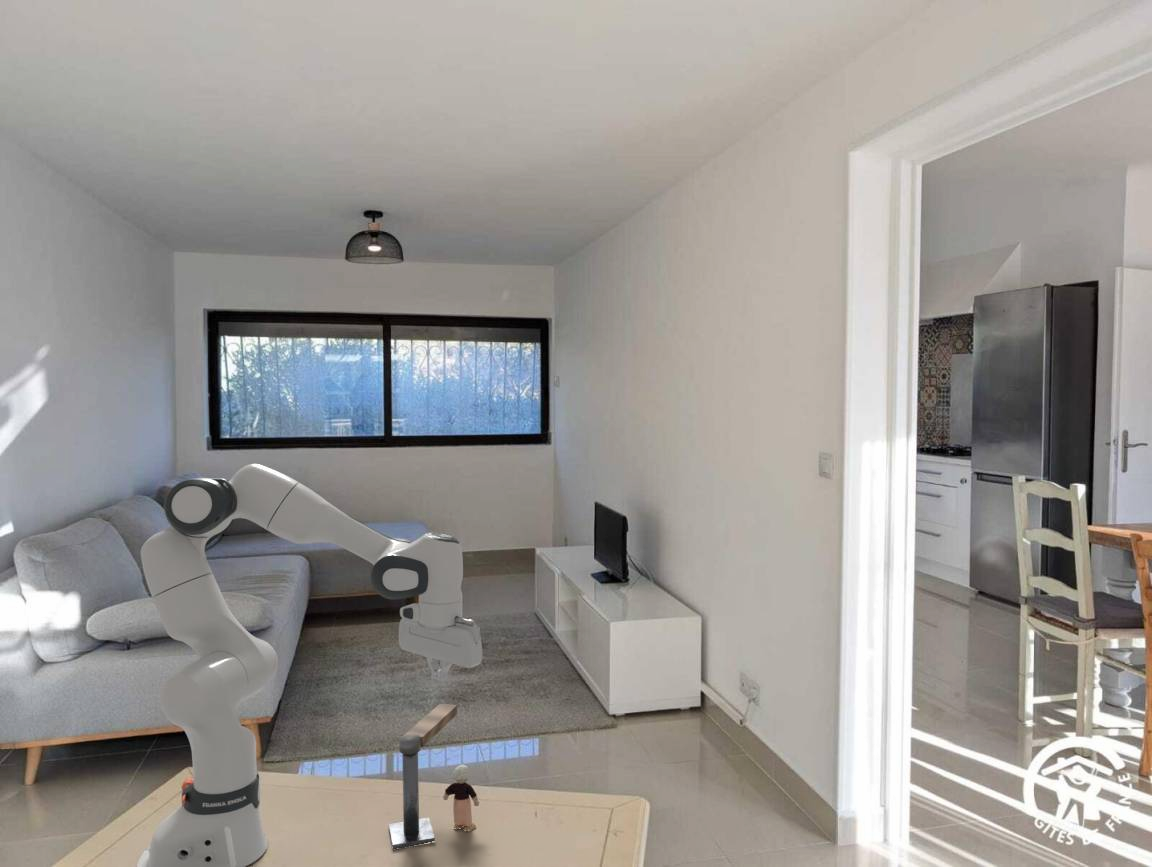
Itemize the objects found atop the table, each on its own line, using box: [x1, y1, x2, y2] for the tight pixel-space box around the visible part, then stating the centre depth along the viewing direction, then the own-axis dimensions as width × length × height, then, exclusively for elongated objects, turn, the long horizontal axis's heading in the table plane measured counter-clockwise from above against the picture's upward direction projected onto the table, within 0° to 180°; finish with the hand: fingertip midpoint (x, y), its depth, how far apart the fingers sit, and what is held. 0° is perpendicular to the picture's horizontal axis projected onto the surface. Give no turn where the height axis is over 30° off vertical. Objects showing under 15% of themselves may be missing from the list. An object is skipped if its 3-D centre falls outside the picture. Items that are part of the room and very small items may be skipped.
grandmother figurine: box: [442, 764, 480, 832], centre depth 165 cm, size 8×4×13 cm, turn 84°
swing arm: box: [399, 703, 458, 754], centre depth 169 cm, size 20×4×2 cm, turn 165°
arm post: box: [388, 752, 436, 850], centre depth 162 cm, size 8×8×17 cm
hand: (439, 679), depth 168 cm, fingers closed
